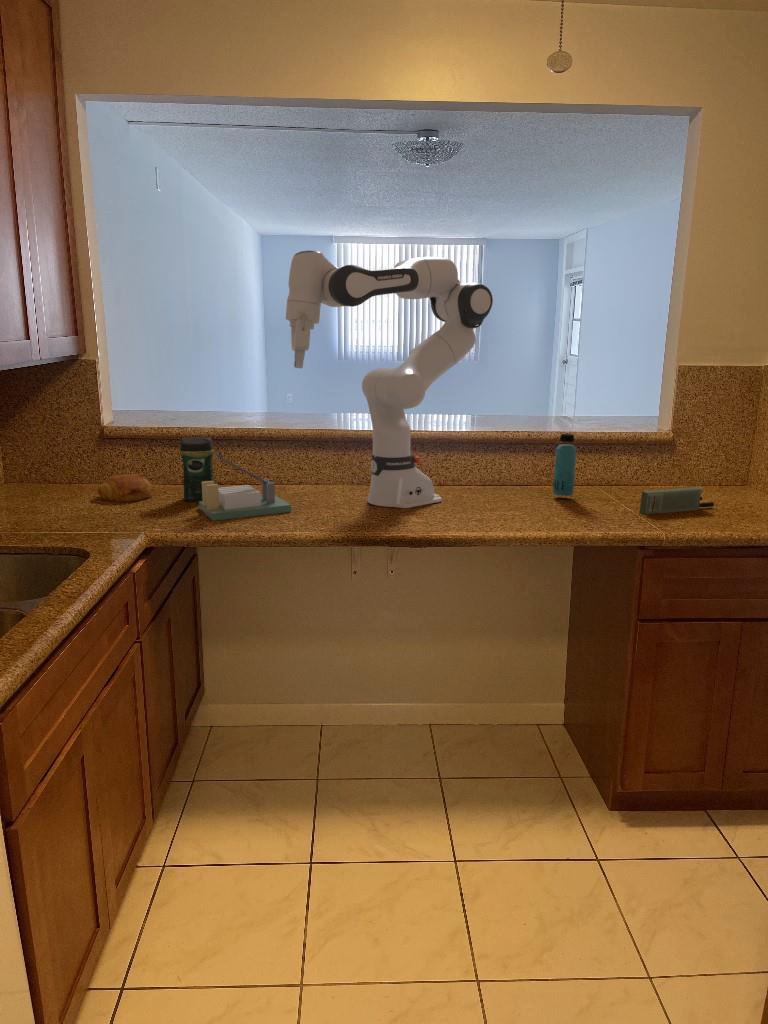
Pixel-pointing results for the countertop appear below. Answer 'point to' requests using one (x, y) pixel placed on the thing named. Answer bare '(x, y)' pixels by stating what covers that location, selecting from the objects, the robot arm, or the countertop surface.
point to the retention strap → (241, 468)
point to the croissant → (125, 488)
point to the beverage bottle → (564, 467)
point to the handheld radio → (672, 500)
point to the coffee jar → (196, 466)
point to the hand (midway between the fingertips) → (298, 368)
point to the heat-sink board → (240, 501)
